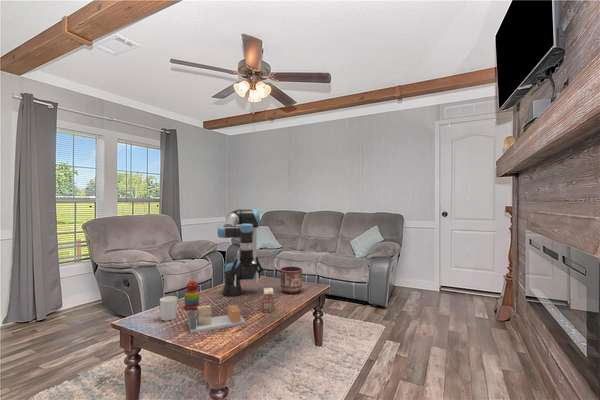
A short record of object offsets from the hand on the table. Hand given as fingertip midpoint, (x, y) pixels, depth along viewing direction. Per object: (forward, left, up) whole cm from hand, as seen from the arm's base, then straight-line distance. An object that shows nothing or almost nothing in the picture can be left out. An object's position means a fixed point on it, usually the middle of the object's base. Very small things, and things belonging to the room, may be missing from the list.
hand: (246, 284), depth 182 cm
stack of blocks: (-15, +19, -21) cm, 32 cm away
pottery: (-39, +47, -21) cm, 64 cm away
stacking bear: (-34, -27, -21) cm, 48 cm away
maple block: (0, -24, -19) cm, 31 cm away
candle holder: (-20, -42, -21) cm, 51 cm away
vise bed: (0, -17, -21) cm, 27 cm away
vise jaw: (0, -7, -19) cm, 20 cm away
